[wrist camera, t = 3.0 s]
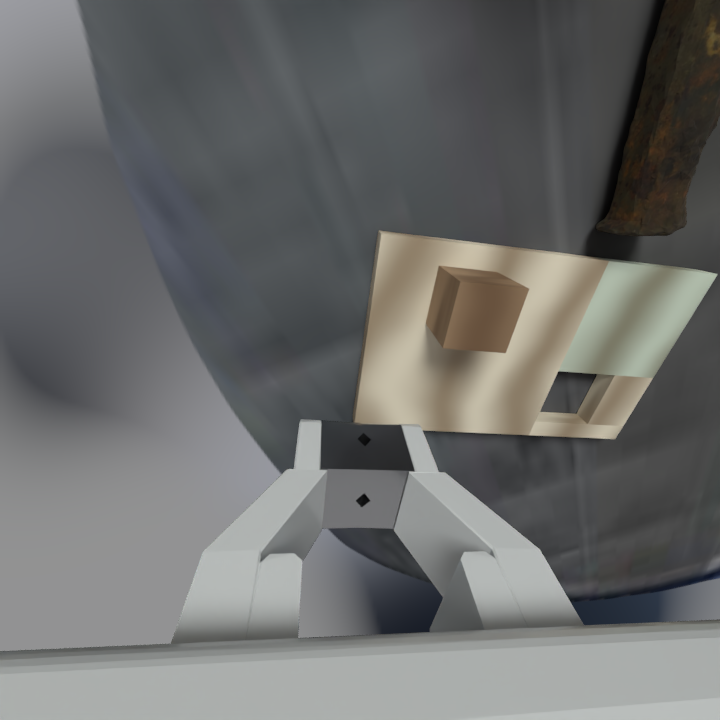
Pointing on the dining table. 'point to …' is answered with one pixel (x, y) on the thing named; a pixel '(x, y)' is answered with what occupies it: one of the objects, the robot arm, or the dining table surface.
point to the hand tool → (669, 122)
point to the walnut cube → (474, 309)
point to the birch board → (519, 339)
